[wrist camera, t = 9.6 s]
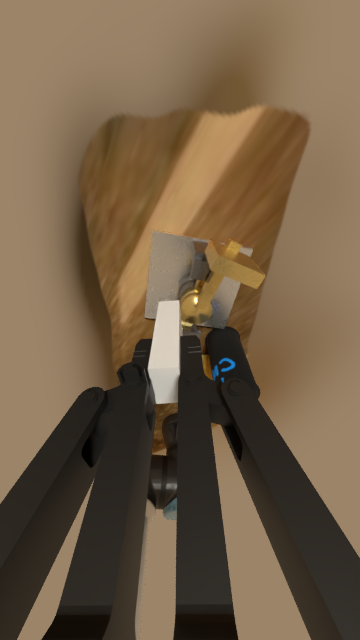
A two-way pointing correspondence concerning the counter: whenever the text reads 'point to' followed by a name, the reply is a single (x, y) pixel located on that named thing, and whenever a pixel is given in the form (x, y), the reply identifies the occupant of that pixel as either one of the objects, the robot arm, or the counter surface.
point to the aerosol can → (229, 357)
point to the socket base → (175, 268)
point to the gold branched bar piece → (217, 280)
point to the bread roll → (207, 366)
